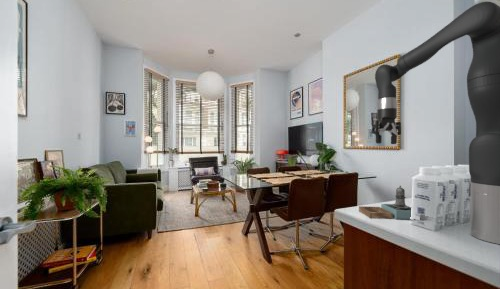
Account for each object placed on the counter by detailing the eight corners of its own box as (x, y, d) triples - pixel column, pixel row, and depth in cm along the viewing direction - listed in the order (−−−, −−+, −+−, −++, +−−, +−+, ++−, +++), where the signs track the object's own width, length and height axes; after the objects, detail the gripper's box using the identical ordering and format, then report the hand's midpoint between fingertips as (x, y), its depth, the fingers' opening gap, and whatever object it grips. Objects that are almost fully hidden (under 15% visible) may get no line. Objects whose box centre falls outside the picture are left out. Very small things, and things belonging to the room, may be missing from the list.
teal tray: (403, 212, 90) (403, 204, 90) (420, 220, 81) (421, 211, 81) (381, 212, 90) (381, 203, 90) (396, 219, 81) (396, 210, 81)
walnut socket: (379, 211, 91) (379, 206, 91) (392, 218, 82) (392, 213, 82) (358, 211, 91) (359, 206, 91) (370, 218, 82) (370, 212, 82)
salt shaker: (399, 212, 89) (400, 184, 89) (412, 216, 83) (413, 186, 83) (387, 212, 88) (388, 184, 88) (400, 217, 82) (400, 186, 82)
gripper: (381, 106, 90) (380, 143, 90) (406, 108, 94) (406, 144, 94) (367, 109, 98) (367, 143, 97) (391, 111, 101) (391, 144, 101)
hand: (386, 143), depth 95 cm, fingers open, 8 cm apart
